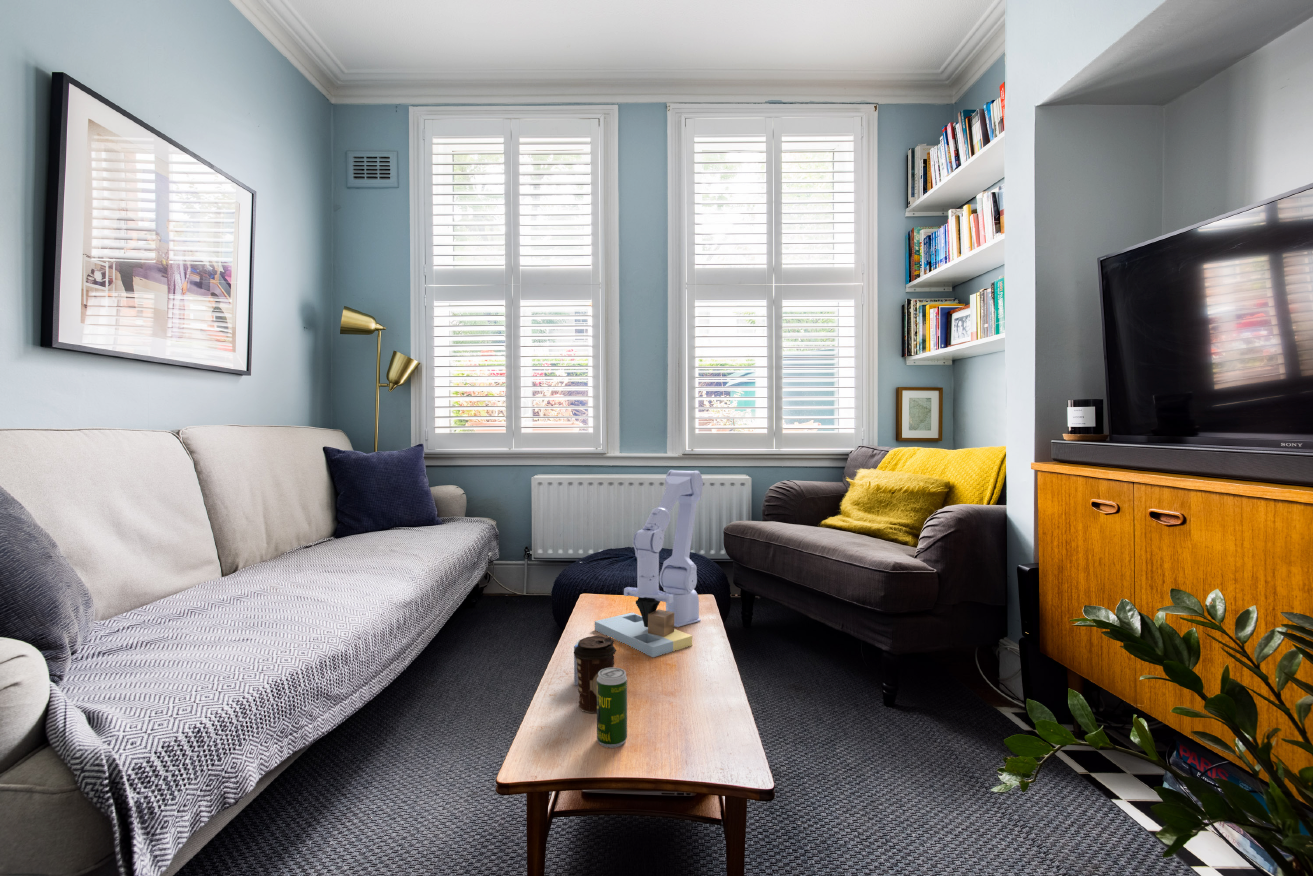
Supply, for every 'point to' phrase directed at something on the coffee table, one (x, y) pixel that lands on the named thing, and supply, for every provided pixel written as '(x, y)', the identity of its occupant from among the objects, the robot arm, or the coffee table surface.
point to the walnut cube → (661, 623)
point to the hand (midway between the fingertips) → (648, 626)
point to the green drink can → (611, 707)
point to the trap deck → (641, 635)
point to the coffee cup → (592, 667)
